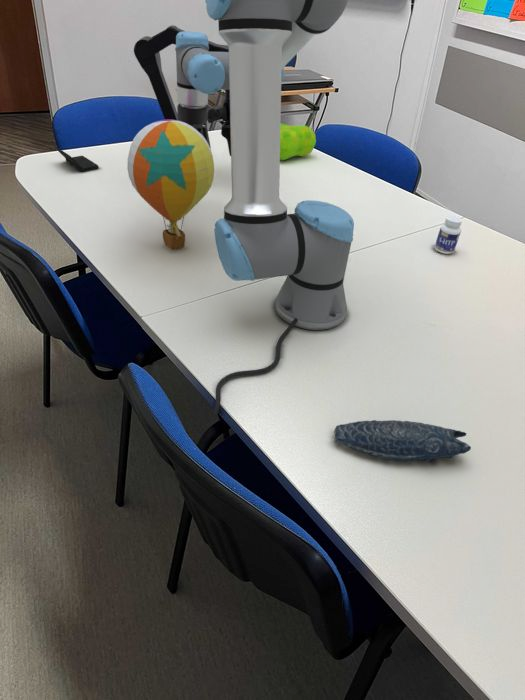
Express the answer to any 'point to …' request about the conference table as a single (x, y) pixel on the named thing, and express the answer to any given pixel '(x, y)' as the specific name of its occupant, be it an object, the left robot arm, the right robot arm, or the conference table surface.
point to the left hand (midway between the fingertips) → (232, 151)
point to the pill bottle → (448, 235)
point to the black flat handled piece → (79, 161)
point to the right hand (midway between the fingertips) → (193, 187)
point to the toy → (171, 172)
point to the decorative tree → (296, 141)
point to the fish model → (401, 439)
